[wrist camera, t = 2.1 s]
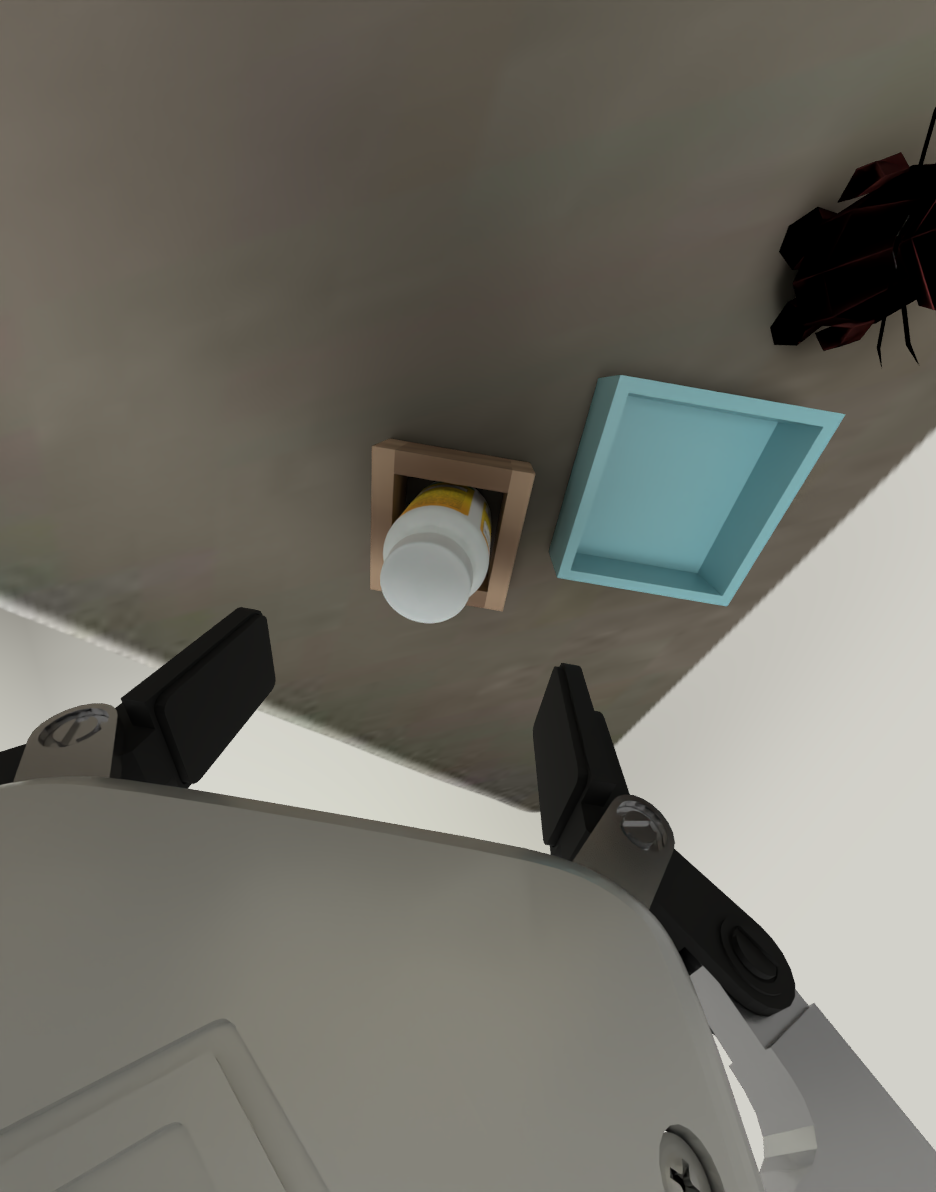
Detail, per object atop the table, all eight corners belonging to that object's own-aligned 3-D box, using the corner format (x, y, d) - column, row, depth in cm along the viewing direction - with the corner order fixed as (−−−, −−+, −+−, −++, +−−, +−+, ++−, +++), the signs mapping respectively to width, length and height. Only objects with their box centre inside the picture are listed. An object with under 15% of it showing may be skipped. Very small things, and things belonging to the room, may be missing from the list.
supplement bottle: (508, 521, 23) (514, 592, 15) (450, 570, 25) (428, 655, 17) (451, 458, 22) (422, 498, 13) (394, 515, 24) (339, 581, 15)
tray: (598, 378, 19) (620, 374, 16) (782, 410, 19) (845, 414, 16) (548, 551, 24) (557, 577, 21) (694, 576, 24) (727, 606, 21)
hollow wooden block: (389, 438, 21) (371, 446, 18) (529, 462, 21) (535, 474, 18) (385, 565, 26) (370, 589, 23) (502, 585, 26) (502, 611, 23)
